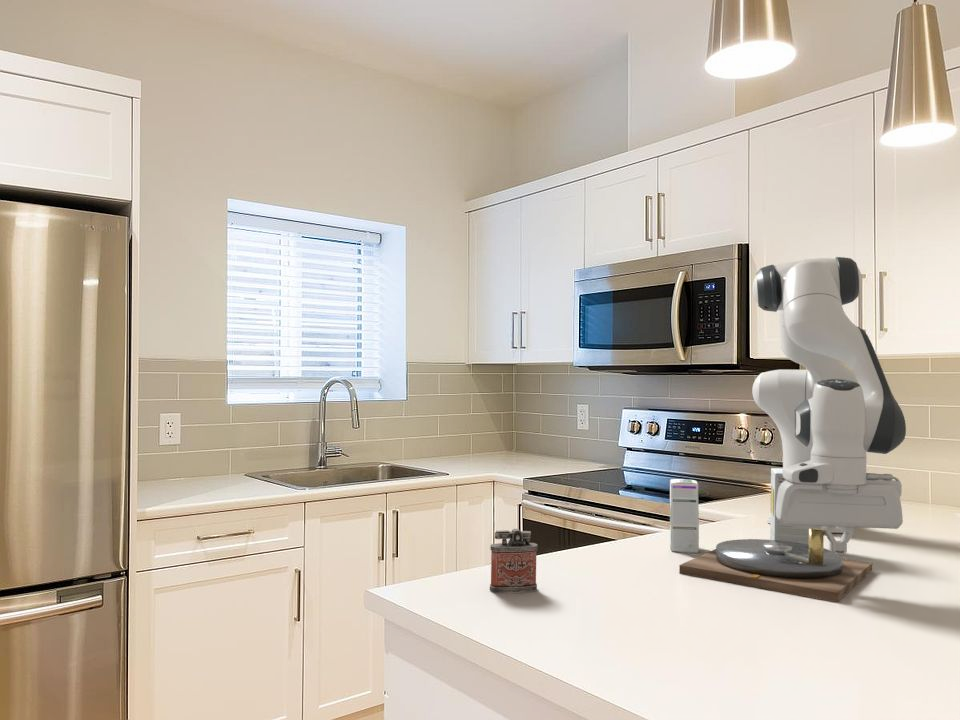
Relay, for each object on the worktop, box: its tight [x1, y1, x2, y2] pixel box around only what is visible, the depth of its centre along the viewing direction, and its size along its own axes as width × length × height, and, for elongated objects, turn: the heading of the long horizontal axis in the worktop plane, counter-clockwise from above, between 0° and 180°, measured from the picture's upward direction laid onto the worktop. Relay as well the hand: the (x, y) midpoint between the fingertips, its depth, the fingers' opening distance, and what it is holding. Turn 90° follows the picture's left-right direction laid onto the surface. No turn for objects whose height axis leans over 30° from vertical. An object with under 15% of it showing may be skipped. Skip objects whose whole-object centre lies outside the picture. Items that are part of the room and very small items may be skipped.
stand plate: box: [678, 548, 873, 603], centre depth 141 cm, size 27×27×2 cm
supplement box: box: [769, 467, 821, 545], centre depth 160 cm, size 10×9×17 cm
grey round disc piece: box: [715, 528, 844, 578], centre depth 141 cm, size 22×22×8 cm
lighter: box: [489, 528, 539, 594], centre depth 126 cm, size 8×3×10 cm, turn 102°
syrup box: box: [669, 478, 700, 554], centre depth 159 cm, size 6×6×14 cm
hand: (837, 552), depth 131 cm, fingers closed
